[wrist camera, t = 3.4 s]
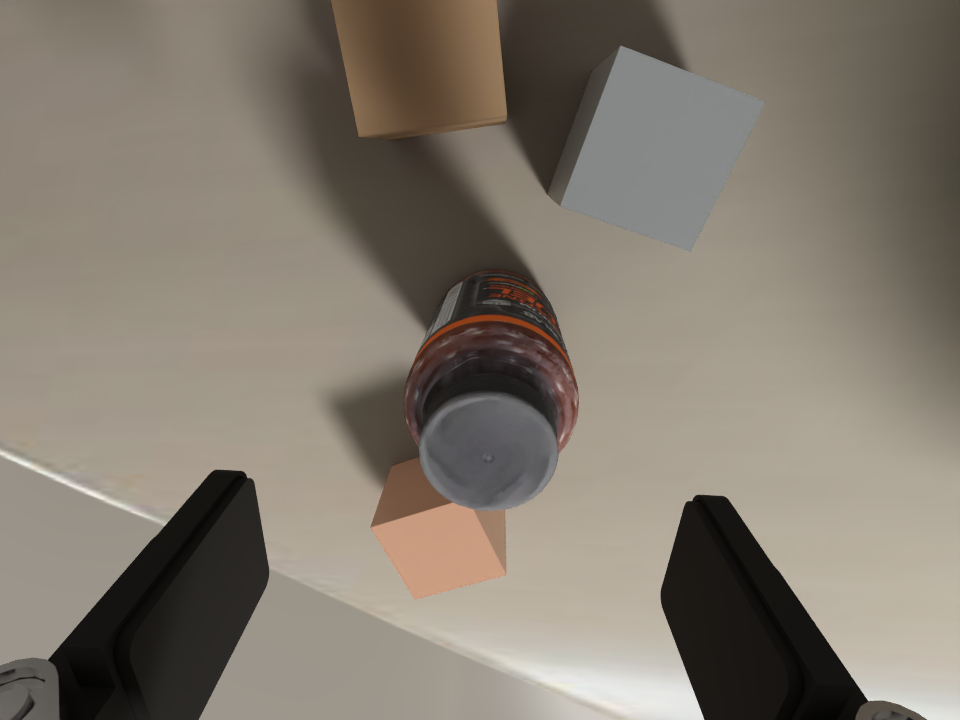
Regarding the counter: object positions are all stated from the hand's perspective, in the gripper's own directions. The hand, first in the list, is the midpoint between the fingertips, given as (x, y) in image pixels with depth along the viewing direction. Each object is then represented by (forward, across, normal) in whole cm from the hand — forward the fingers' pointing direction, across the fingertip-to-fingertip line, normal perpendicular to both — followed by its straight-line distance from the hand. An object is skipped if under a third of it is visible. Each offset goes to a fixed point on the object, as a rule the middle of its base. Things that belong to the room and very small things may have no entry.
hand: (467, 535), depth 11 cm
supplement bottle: (+15, -1, 0) cm, 15 cm away
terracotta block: (+14, +1, +10) cm, 18 cm away
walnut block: (+15, +2, -11) cm, 18 cm away
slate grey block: (+14, -6, -8) cm, 17 cm away
